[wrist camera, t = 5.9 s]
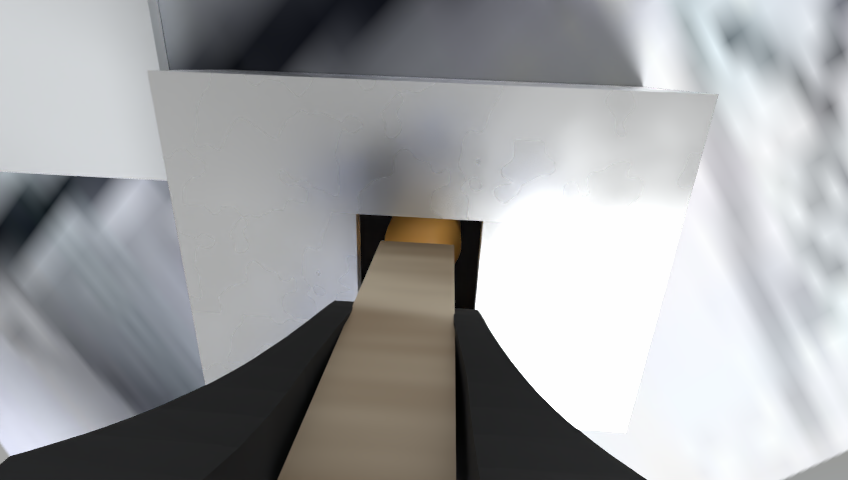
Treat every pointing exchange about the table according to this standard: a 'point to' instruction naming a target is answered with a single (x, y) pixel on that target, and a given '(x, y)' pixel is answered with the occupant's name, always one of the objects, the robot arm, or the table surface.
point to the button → (425, 231)
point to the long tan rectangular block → (388, 377)
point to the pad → (80, 88)
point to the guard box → (435, 208)
